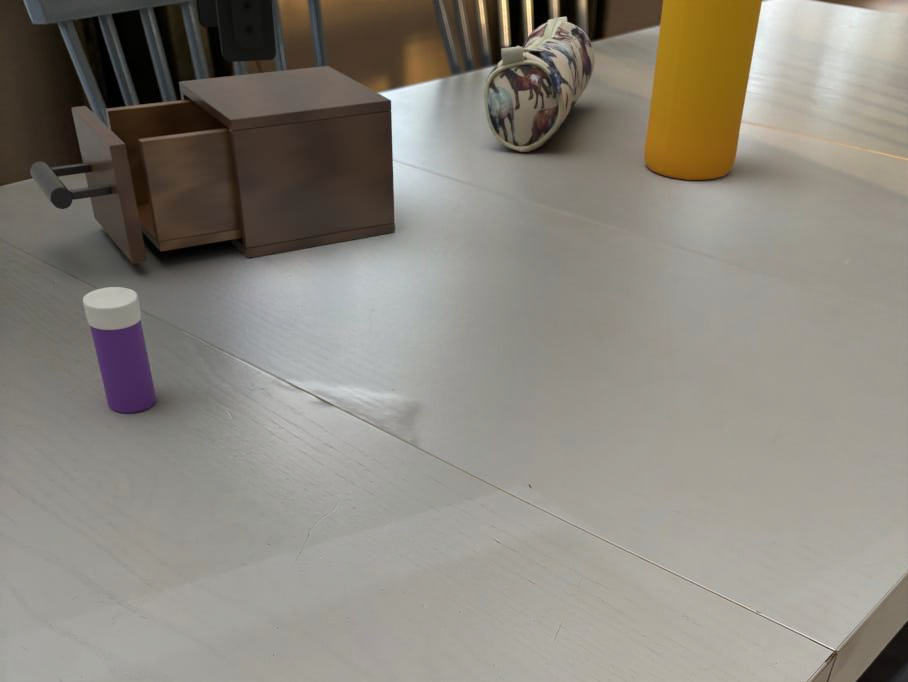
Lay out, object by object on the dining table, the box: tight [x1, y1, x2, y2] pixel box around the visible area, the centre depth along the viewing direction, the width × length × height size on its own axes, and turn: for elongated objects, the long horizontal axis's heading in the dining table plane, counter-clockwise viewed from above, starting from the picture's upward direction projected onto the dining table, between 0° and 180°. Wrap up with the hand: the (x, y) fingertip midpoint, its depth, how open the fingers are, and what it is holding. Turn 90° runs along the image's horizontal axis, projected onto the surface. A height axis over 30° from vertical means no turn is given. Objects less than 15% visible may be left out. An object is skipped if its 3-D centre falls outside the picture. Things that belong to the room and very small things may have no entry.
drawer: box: [29, 99, 242, 265], centre depth 85 cm, size 17×11×9 cm, turn 120°
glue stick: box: [82, 286, 157, 414], centre depth 65 cm, size 3×3×7 cm
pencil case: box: [483, 16, 596, 153], centre depth 114 cm, size 22×8×10 cm, turn 166°
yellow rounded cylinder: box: [643, 0, 763, 181], centre depth 98 cm, size 9×9×29 cm
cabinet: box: [178, 65, 396, 259], centre depth 90 cm, size 14×13×11 cm
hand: (235, 41), depth 67 cm, fingers open, 9 cm apart
